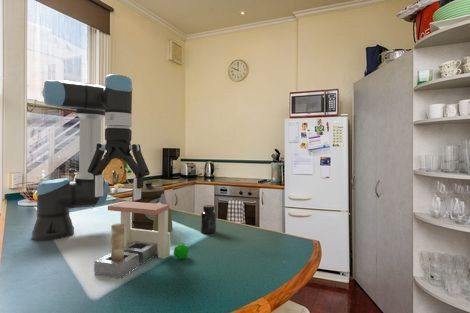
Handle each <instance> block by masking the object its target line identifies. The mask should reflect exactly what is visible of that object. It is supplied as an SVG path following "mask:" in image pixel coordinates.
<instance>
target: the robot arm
mask: <svg viewBox="0 0 470 313" xmlns="http://www.w3.org/2000/svg"><path fill="white" fill-rule="evenodd" d="M132 81H133V80H132V79H131V78H130V77H129V76H127V75H122V74H108V75H106V76H105V80H104V85H101V84H100V85H99V84H96V83H85V82H78V81H70V80H51V79H47V80H45V81H44V84H43V88H42V92H41V93H42V96H43V101H44V105H46V106H50V107H55V108H60V109H65V110H73V111H75V115H76V116H77V118H79V144H78V145H79V148H78V150H79V157H78V160H79V161H78V162H79V164H78V169H79V170H78V174H76V175H75V177H74V180H73V181H71V180H70V178H67V177H65V178H63V177H62V178H55V179H49V180H45V181H41V182H40V183H38V184H37V186H36V194H35V195H36V219H35V223H34V224H33V225H34V226H33V229H32V230H31V239H32V240H35V241H53V240H60V239H63V238H68V237H70V236H72V235H74V234H75V227H74V225H73V222H72V219H71V216H70V210H71V209H80V208H81V209H82V208H91V207H92V208H95V207H100V206H103V205H104V204H105V203H106V202H107V198H108V196H109V182H108V180H106V179H105V176H104V174H103V172H104V170H106V168H107V167H108V165H109V164H110V163H111V161H112V160H114V159H115V160H116V159H118V160H123V161H124V162H125V163H126V164H127V166H128V167H129V168H130V170H131V171H132V173H133V175H134V176H135V177H134V178H133V189H134V195H133V200H138V199H141V188H143V187H144V178H145V177H147V176H149V175H150V174H151V173H150V169H149V168H148V166H147V164H146V161H145V159H144V156H143V153H142V150H141V144H137V143H134V144H131V141H132V138H133V137H132V132H133V131H132V129H131V128H132V127H133V126H132V125H133V124H132V123H133V118H132V117H133V114H132V113H133V112H132V111H133V110H132V108H133V106H132V105H133V82H132ZM103 119H104V126H105V127H106V128H105V129H104V140H105V142H106V143H102V120H103ZM131 152H132V153H131Z"/></svg>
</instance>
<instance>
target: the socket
mask: <svg viewBox="0 0 470 313" xmlns="http://www.w3.org/2000/svg"><path fill="white" fill-rule="evenodd" d="M93 265H94V267H93V268H94V271H93V272H94V273H93V274H94V275H96V276H101V275H102V277H107V276H108V278H113V277H115V278H114V279H119V278H121V279H122V278H124V277H125V276H127V275H129V274H130V273H131V272H133V271H134V270H136V269H137V268H136V267H138V266H139V267H140V264H139V254H135V253H127V252H124V259H123V260H121V261H112V260H111V252H110V253H107V254H106V255H104V256H102V257H100V258H97V259H96V260H94V264H93ZM139 267H138V268H139ZM135 268H136V269H135ZM133 269H134V270H133ZM132 270H133V271H132ZM129 272H130V273H129ZM126 274H127V275H126ZM123 276H124V277H123Z"/></svg>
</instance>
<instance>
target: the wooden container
mask: <svg viewBox="0 0 470 313" xmlns="http://www.w3.org/2000/svg"><path fill="white" fill-rule="evenodd" d="M131 193H132V195H131V196H132V197H131V202H141V203H153V204H157V203H159V202H160V200H161V196H162V194H165V188H164V187H161V186H160V187H159V186H153V181H152V180H146V181H145V182H144V185H143V188H141V199H138V200H133V195H134V188H133V189H132V191H131ZM153 223H154V215H153V214H142V213H132V212H131V228H133V229H142V230H151V231H152V230H153Z"/></svg>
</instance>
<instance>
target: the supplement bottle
mask: <svg viewBox="0 0 470 313" xmlns="http://www.w3.org/2000/svg"><path fill="white" fill-rule="evenodd" d="M202 209H203V210H202V212H201V214H200V233H201V234H203V235H204V236H207V235H208V236H211V235H214V234H216V233H217V212H215V206H214V205H212V204H205V205H203V208H202Z"/></svg>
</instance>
